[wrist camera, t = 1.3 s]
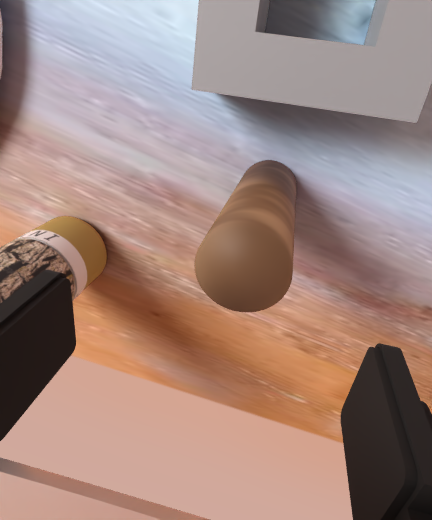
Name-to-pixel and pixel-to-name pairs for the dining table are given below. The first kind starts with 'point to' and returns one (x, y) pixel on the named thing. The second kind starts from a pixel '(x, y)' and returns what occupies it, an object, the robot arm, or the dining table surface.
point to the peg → (251, 241)
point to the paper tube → (53, 255)
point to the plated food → (0, 44)
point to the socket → (318, 60)
